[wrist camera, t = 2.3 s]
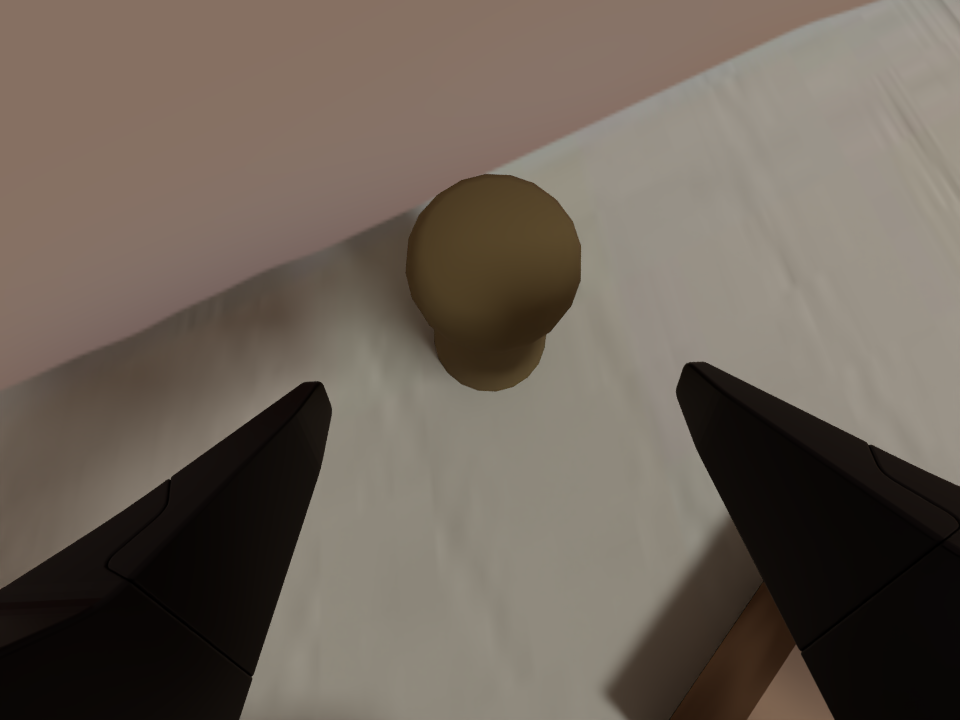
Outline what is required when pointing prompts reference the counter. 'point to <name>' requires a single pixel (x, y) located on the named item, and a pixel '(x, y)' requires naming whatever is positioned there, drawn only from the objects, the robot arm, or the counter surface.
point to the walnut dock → (755, 673)
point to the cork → (493, 276)
